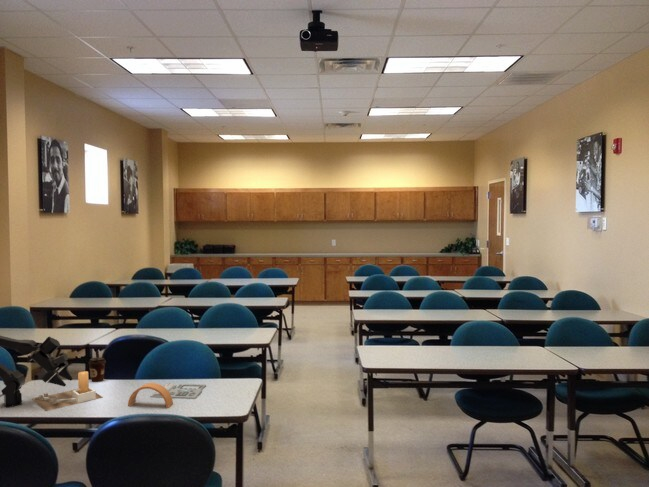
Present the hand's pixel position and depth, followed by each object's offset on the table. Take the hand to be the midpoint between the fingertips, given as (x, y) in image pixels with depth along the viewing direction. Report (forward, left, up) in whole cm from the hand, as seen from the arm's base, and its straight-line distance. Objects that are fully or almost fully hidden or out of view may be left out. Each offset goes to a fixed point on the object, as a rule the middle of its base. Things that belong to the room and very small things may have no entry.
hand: (68, 382), depth 251 cm
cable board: (0, +2, -9) cm, 10 cm away
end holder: (+6, -4, -8) cm, 11 cm away
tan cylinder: (+6, -4, -8) cm, 10 cm away
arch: (+26, -32, -10) cm, 43 cm away
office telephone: (+46, -24, -10) cm, 53 cm away
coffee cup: (+21, +21, -10) cm, 31 cm away
